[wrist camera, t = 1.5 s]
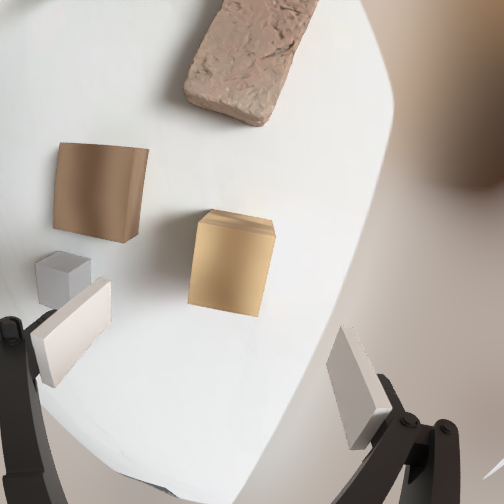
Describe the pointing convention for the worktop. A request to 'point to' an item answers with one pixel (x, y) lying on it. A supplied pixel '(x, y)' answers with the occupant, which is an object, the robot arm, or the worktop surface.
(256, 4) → the brick
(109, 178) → the walnut block
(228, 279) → the oak block
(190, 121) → the worktop surface
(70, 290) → the grey block
